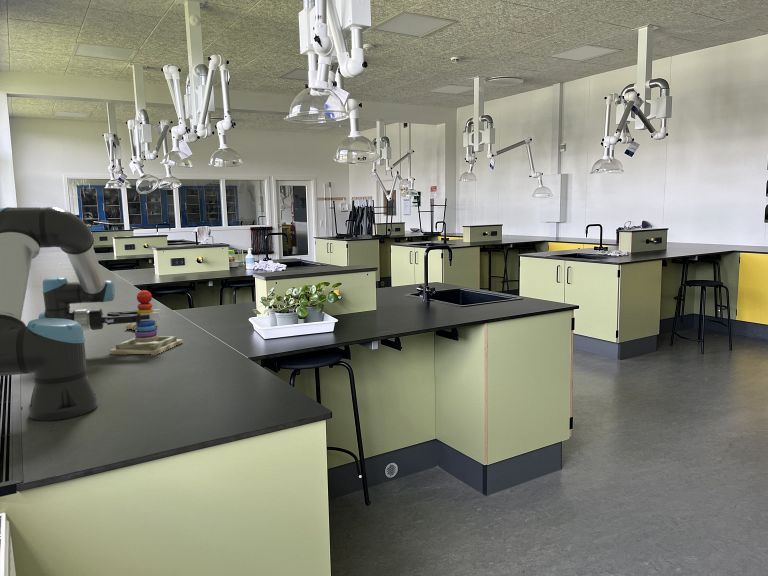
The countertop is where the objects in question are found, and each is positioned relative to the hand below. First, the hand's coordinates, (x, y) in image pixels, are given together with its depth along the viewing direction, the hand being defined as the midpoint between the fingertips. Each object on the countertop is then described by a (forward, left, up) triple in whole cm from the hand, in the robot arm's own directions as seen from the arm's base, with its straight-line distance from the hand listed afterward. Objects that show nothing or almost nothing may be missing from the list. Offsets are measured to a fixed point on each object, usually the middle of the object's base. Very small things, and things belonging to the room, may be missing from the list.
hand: (159, 314), depth 206 cm
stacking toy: (-3, +4, -10) cm, 11 cm away
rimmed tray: (-3, +4, -12) cm, 13 cm away
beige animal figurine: (+30, +27, -13) cm, 43 cm away
